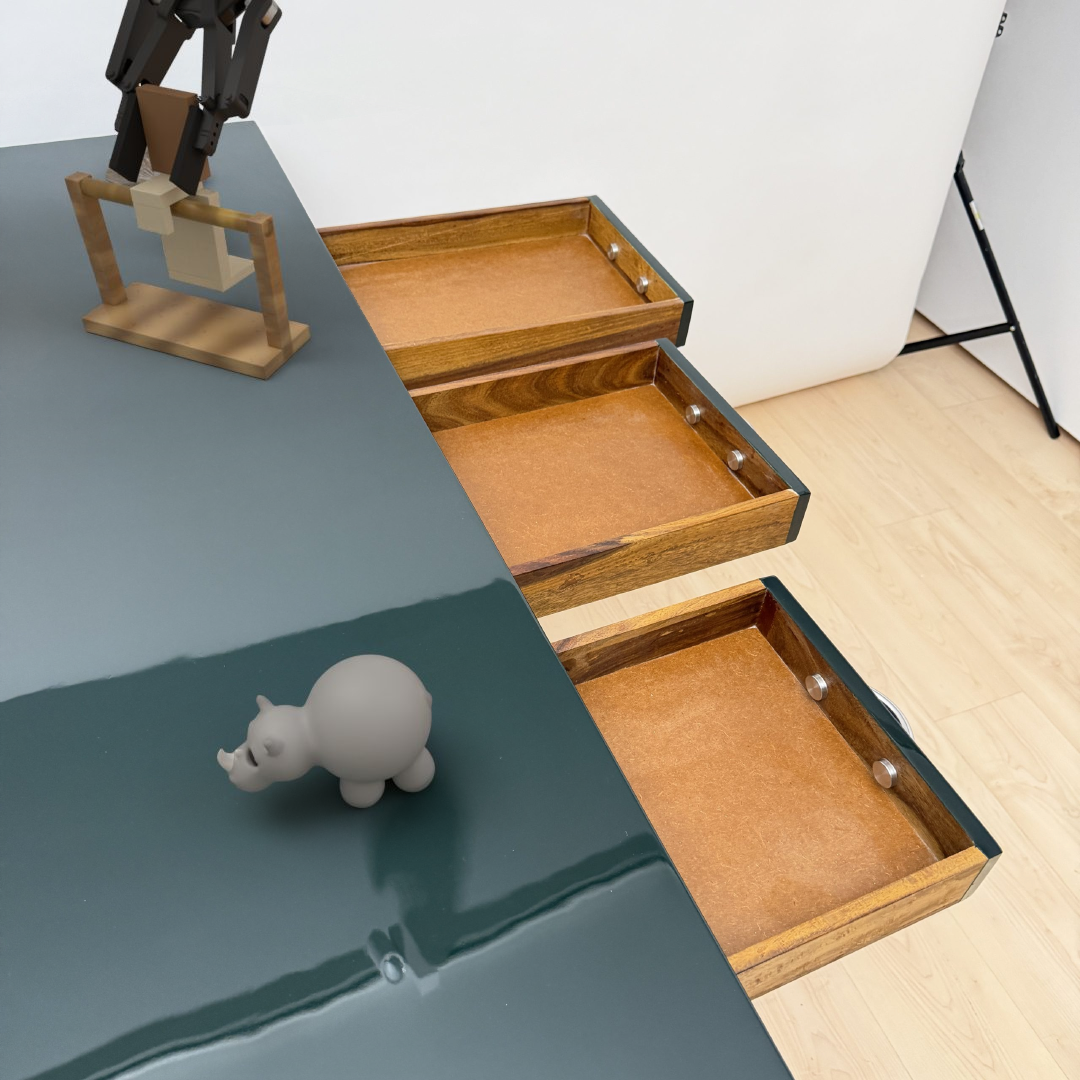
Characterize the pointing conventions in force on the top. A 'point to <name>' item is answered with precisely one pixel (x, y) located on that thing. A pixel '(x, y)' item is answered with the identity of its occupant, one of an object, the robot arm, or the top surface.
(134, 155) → the robot arm
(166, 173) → the beige and brown blocks
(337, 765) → the round bodied animal figurine
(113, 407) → the top surface
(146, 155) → the fossil
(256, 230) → the stand
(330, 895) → the top surface
